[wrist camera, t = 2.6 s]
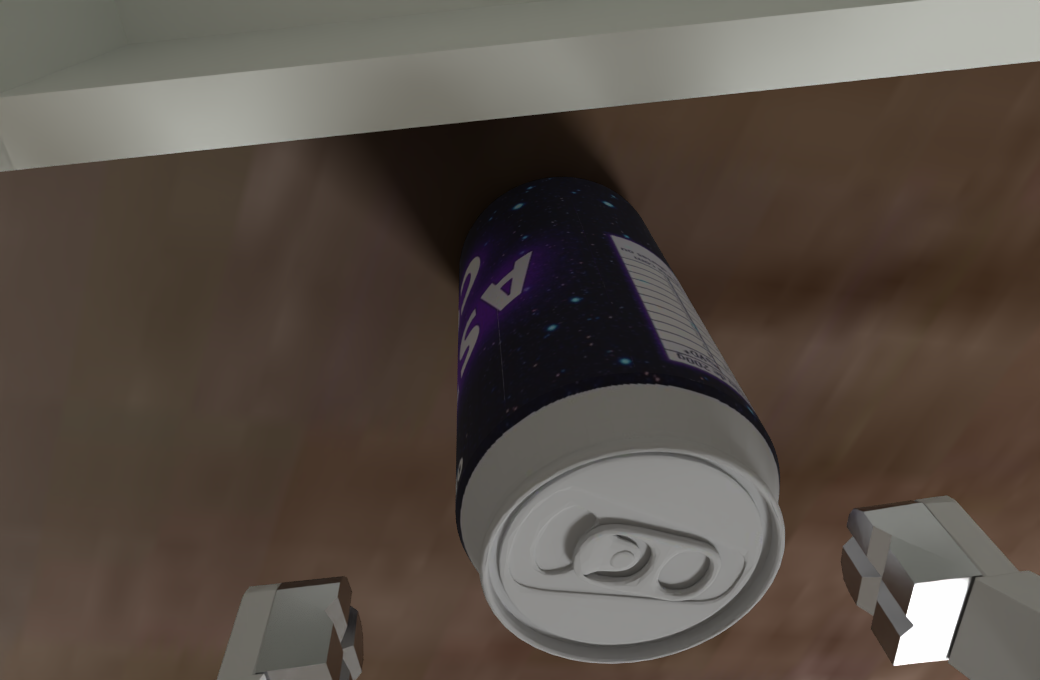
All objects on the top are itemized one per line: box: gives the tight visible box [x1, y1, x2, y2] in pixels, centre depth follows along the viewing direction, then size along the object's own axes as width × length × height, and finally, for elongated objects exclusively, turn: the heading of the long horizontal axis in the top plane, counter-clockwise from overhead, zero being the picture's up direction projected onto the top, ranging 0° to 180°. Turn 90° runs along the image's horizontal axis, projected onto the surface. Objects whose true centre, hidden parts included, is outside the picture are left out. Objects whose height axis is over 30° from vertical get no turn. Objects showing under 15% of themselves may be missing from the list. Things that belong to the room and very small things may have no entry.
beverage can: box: [456, 177, 785, 664], centre depth 17 cm, size 6×6×12 cm
